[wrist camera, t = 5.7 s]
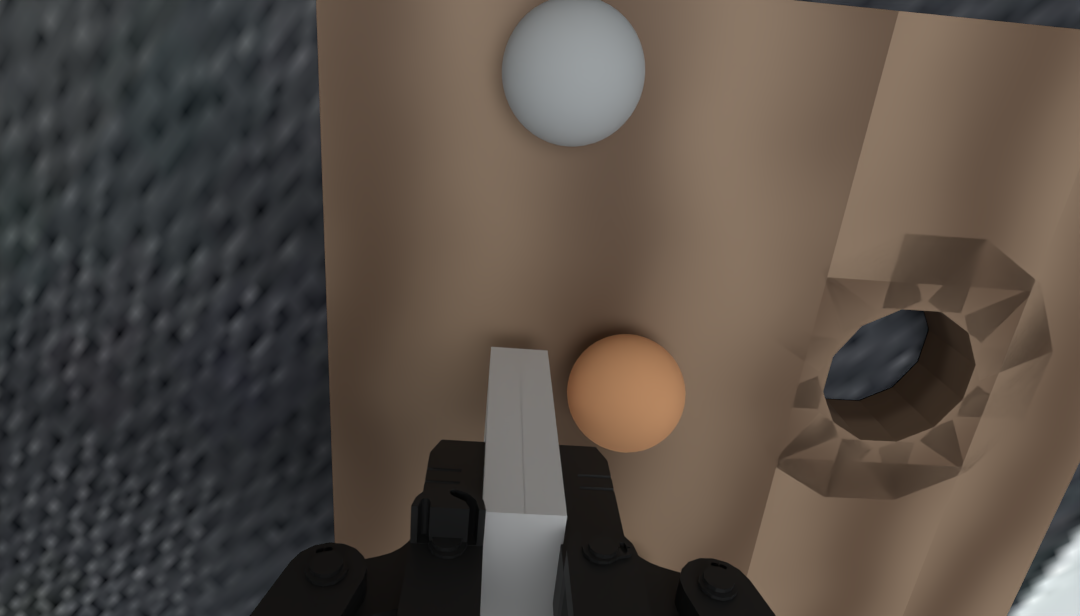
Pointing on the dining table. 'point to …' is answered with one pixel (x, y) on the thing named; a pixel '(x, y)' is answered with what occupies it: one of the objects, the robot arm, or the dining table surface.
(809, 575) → the board
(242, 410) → the dining table surface
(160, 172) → the dining table surface
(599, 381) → the ball
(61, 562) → the dining table surface
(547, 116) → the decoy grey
